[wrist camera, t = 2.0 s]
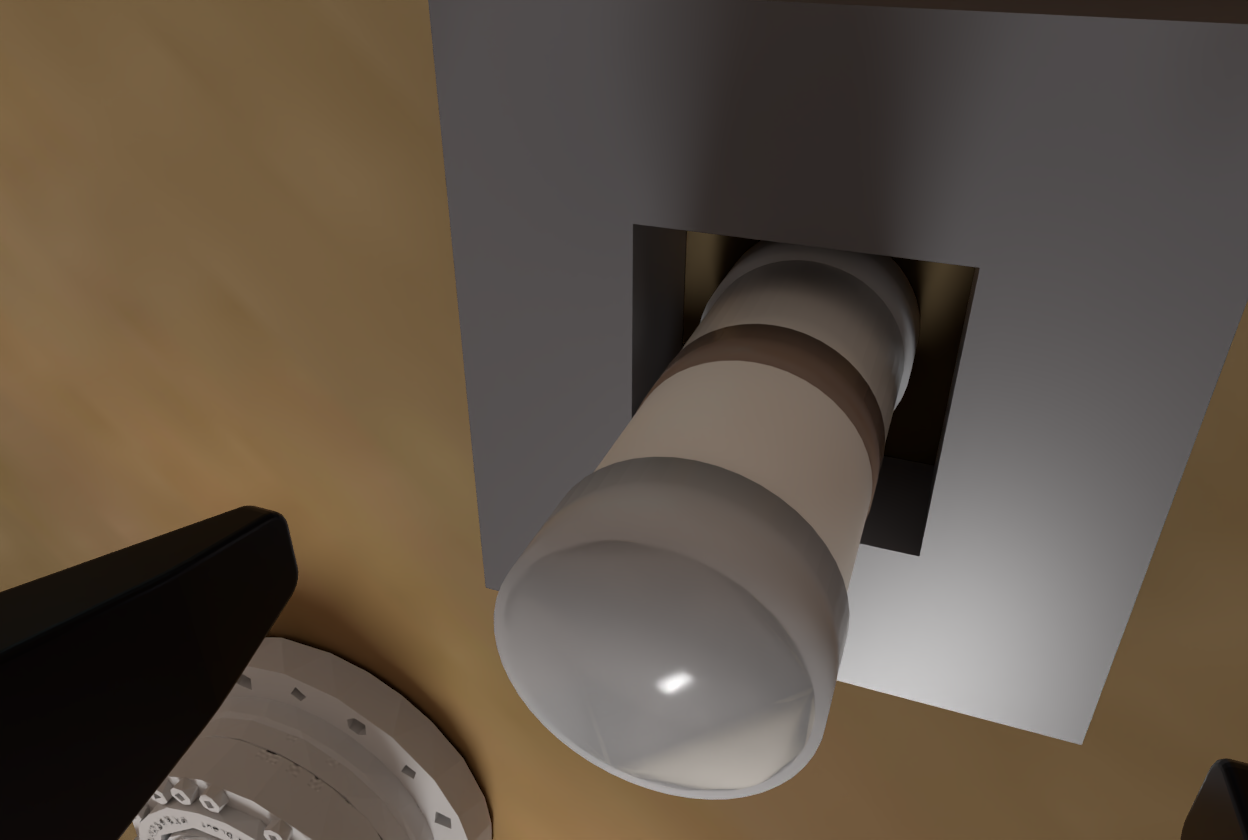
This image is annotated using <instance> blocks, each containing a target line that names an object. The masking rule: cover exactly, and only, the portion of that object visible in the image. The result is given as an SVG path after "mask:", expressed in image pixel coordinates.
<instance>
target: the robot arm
mask: <svg viewBox="0 0 1248 840" xmlns="http://www.w3.org/2000/svg"><path fill="white" fill-rule="evenodd" d="M297 580H298V567H297V563H296V558H295V554H294V550H293V545H292V541H291V537H290V532H289V528H288V524H287V521H286V519H285V518H284V517H283V516H282V514H280V513H278V512H275V511H272V510H268V509H264V508H260V507H256V506H243V507H239V508H237V509H234V510H231V511H228V512H225V513H223V514H220V515H217V516H214V517H211V518H208V519H206V520H203V521H200V522H197V523H194V524H192V525H189V526H186V527H183V528H180V529H177V530H175V531H172V532H169V533H166V534H163V535H160V536H158V537H155V538H152V539H149V540H146V541H144V542H141V543H138V544H135V545H132V546H129V547H127V548H124V549H121V550H118V551H115V552H112V553H110V554H107V555H104V556H101V557H98V558H96V559H93V560H90V561H87V562H84V563H81V564H79V565H76V566H73V567H70V568H67V569H64V570H62V571H59V572H56V573H53V574H50V575H48V576H45V577H42V578H39V579H36V580H33V581H31V582H28V583H25V584H22V585H19V586H16V587H14V588H11V589H8V590H5V591H2V592H0V840H118V839H119V838H120V837H121V836H122V834H123V833H124V832H125V830H126V829H127V828H128V827H129V825H130V824H131V823H132V821H133V820H134V819H135V817H136V816H137V815H138V814H139V812H140V811H141V810H142V808H143V807H144V806H145V805H146V803H147V802H148V801H149V799H150V798H151V797H152V796H153V794H154V793H155V792H156V790H157V789H158V788H159V787H160V785H161V784H162V783H163V781H164V780H165V779H166V778H167V776H168V775H169V774H170V772H171V771H172V770H173V769H174V767H175V766H176V765H177V763H178V762H179V761H180V759H181V758H182V757H183V756H184V754H185V753H186V752H187V750H188V749H189V748H190V747H191V745H192V744H193V743H194V741H195V740H196V739H197V738H198V736H199V735H200V734H201V732H202V731H203V730H204V729H205V727H206V726H207V725H208V723H209V722H210V721H211V719H212V718H213V716H214V715H215V714H216V712H217V711H218V710H219V708H220V707H221V705H222V704H223V702H224V701H225V699H226V698H227V696H228V695H229V693H230V692H231V690H232V689H233V687H234V686H235V684H236V683H237V681H238V679H239V678H240V676H241V675H242V673H243V672H244V670H245V668H246V667H247V665H248V664H249V662H250V661H251V659H252V657H253V656H254V654H255V653H256V651H257V649H258V648H259V646H260V645H261V643H262V642H263V640H264V638H265V637H266V635H267V634H268V632H269V631H270V629H271V627H272V626H273V624H274V623H275V621H276V620H277V618H278V616H279V615H280V613H281V612H282V610H283V608H284V607H285V605H286V604H287V602H288V601H289V599H290V597H291V596H292V594H293V592H294V590H295V587H296V585H297ZM1181 840H1248V764H1247V763H1243V762H1239V761H1236V760H1232V759H1220V760H1217V761H1216V762H1215V763H1214V764H1213V765H1212V767H1211V768H1210V770H1209V772H1208V774H1207V776H1206V778H1205V780H1204V782H1203V784H1202V786H1201V789H1200V791H1199V793H1198V795H1197V797H1196V799H1195V801H1194V803H1193V805H1192V807H1191V809H1190V811H1189V813H1188V816H1187V818H1186V820H1185V822H1184V826H1183V829H1182V834H1181Z"/></svg>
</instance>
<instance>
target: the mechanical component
mask: <svg viewBox="0 0 1248 840" xmlns="http://www.w3.org/2000/svg"><path fill="white" fill-rule="evenodd" d="M133 824H134V827H135V830H136V833H137V837H136V838H135V839H134V840H492V828H491V820H490V816H489V812H488V808H487V804H486V800H485V797H484V795H483V793H482V792H481V790H480V788H479V786H478V784H477V783H476V781H475V779H474V777H473V775H472V773H471V772H470V770H469V768H468V766H467V764H466V762H465V761H464V759H463V757H462V756H461V755H460V754H459V753H458V752H457V750H456V749H455V748H454V747H453V746H452V745H451V743H450V742H449V741H448V740H447V739H446V738H445V737H444V735H443V734H442V733H441V732H440V731H439V730H438V728H437V727H436V726H435V725H434V724H433V723H432V722H431V721H430V720H429V719H428V718H427V717H426V716H425V715H423V714H422V713H421V712H420V711H419V710H418V709H417V708H416V707H414V706H413V705H412V704H411V703H410V702H409V701H408V700H406V699H405V698H404V697H403V696H402V695H400V694H399V693H397V692H396V691H395V690H393V689H392V688H390V687H389V686H387V685H386V684H384V683H383V682H382V681H380V680H379V679H377V678H376V677H374V676H373V675H371V674H370V673H368V672H367V671H365V670H363V669H361V668H359V667H357V666H355V665H353V664H351V663H349V662H347V661H345V660H343V659H341V658H339V657H337V656H335V655H333V654H331V653H329V652H325V651H322V650H319V649H316V648H313V647H310V646H306V645H303V644H300V643H297V642H294V641H291V640H288V639H284V638H277V637H265V638H264V640H263V642H262V643H261V645H260V646H259V648H258V649H257V651H256V653H255V654H254V656H253V657H252V659H251V661H250V662H249V664H248V665H247V667H246V668H245V670H244V672H243V673H242V675H241V676H240V678H239V679H238V681H237V683H236V684H235V686H234V687H233V689H232V690H231V692H230V693H229V695H228V696H227V698H226V699H225V701H224V702H223V704H222V705H221V707H220V708H219V710H218V711H217V712H216V714H215V715H214V716H213V718H212V719H211V721H210V722H209V723H208V725H207V726H206V727H205V729H204V730H203V731H202V732H201V734H200V735H199V736H198V738H197V739H196V740H195V741H194V743H193V744H192V745H191V747H190V748H189V749H188V750H187V752H186V753H185V754H184V756H183V757H182V758H181V759H180V761H179V762H178V763H177V765H176V766H175V767H174V769H173V770H172V771H171V772H170V774H169V775H168V776H167V778H166V779H165V780H164V781H163V783H162V784H161V785H160V787H159V788H158V789H157V790H156V792H155V793H154V794H153V796H152V797H151V798H150V799H149V801H148V802H147V803H146V805H145V806H144V807H143V808H142V810H141V811H140V812H139V814H138V815H137V816H136V817H135V819H134V820H133Z"/></svg>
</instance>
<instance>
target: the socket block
mask: <svg viewBox="0 0 1248 840" xmlns="http://www.w3.org/2000/svg"><path fill="white" fill-rule="evenodd" d="M428 2H429V12H430V22H431V33H432V43H433V53H434V63H435V73H436V84H437V94H438V104H439V114H440V125H441V135H442V145H443V155H444V165H445V176H446V186H447V196H448V206H449V217H450V227H451V237H452V247H453V257H454V268H455V278H456V288H457V298H458V309H459V319H460V329H461V339H462V349H463V360H464V370H465V380H466V390H467V401H468V411H469V421H470V431H471V441H472V452H473V462H474V472H475V482H476V493H477V503H478V513H479V523H480V533H481V544H482V554H483V564H484V574H485V585H486V588H489V589H493V590H497V591H499V590H500V587H501V585H502V583H503V581H504V579H505V578H506V576H507V574H508V572H509V571H510V570H511V568H512V567H513V566H514V564H515V563H516V561H517V560H518V559H519V557H520V556H521V555H522V553H523V552H524V551H525V549H526V548H527V546H528V545H529V544H530V542H531V541H532V540H533V538H534V537H535V536H536V534H537V533H538V531H539V530H540V529H541V527H542V526H543V525H544V523H545V522H546V521H547V519H548V518H549V516H550V515H551V514H552V512H553V511H554V510H555V508H556V507H557V506H558V504H559V503H560V502H561V500H562V499H563V498H564V497H565V495H566V494H567V493H568V492H569V491H570V490H571V488H572V487H574V486H575V485H576V484H577V483H578V482H580V481H581V480H582V479H583V478H584V477H586V476H588V475H590V474H591V473H593V472H594V471H595V470H596V468H597V467H598V465H599V464H600V463H601V461H602V460H603V458H604V457H605V456H606V454H607V453H608V451H609V450H610V449H611V447H612V446H613V444H614V443H615V442H616V440H617V439H618V437H619V436H620V435H621V433H622V432H623V430H624V429H625V428H626V426H627V425H628V423H629V422H630V421H631V419H632V418H633V416H634V415H635V414H636V412H637V410H638V408H639V406H640V405H641V403H642V401H643V400H644V398H645V397H646V395H647V394H648V393H649V391H650V390H651V389H652V387H653V386H654V384H655V383H656V382H657V380H658V379H659V377H660V376H661V375H662V373H663V372H664V370H665V369H666V368H667V366H668V365H669V363H670V362H671V361H672V360H673V359H674V358H675V356H676V355H677V354H678V353H679V352H680V351H681V349H682V335H683V308H684V281H685V254H686V231H694V232H702V233H710V234H718V235H726V236H733V237H741V238H749V239H757V240H765V241H773V242H781V243H789V244H796V245H804V246H812V247H820V248H828V249H836V250H844V251H852V252H859V253H867V254H875V255H883V256H891V257H899V258H907V259H915V260H922V261H930V262H938V263H946V264H954V265H962V266H970V267H975V271H974V276H973V281H972V286H971V291H970V296H969V301H968V305H967V310H966V315H965V320H964V325H963V330H962V334H961V339H960V344H959V349H958V354H957V359H956V363H955V368H954V373H953V378H952V383H951V388H950V392H949V397H948V402H947V407H946V412H945V417H944V422H943V426H942V431H941V436H940V441H939V446H938V451H937V455H936V460H935V465H929V464H923V463H918V462H913V461H908V460H902V459H897V458H892V457H887V456H884V457H883V461H882V465H881V469H880V473H879V477H878V480H877V484H876V488H875V492H874V496H873V500H872V504H871V508H870V512H869V514H868V516H867V519H866V521H865V524H864V528H863V532H862V536H861V540H860V544H859V548H858V552H857V556H856V560H855V564H854V568H853V571H852V575H851V579H850V583H849V587H848V591H847V595H848V603H849V613H850V616H849V629H848V634H847V639H846V643H845V647H844V651H843V655H842V659H841V664H840V668H839V672H838V676H837V680H838V681H841V682H845V683H849V684H853V685H856V686H860V687H864V688H868V689H872V690H875V691H879V692H883V693H887V694H891V695H894V696H898V697H902V698H906V699H909V700H913V701H917V702H921V703H925V704H928V705H932V706H936V707H940V708H944V709H947V710H951V711H955V712H959V713H962V714H966V715H970V716H974V717H978V718H981V719H985V720H989V721H993V722H996V723H1000V724H1004V725H1008V726H1012V727H1015V728H1019V729H1023V730H1027V731H1031V732H1034V733H1038V734H1042V735H1046V736H1049V737H1053V738H1057V739H1061V740H1065V741H1068V742H1072V743H1076V744H1080V745H1082V743H1083V740H1084V737H1085V735H1086V732H1087V729H1088V727H1089V724H1090V721H1091V719H1092V716H1093V713H1094V710H1095V708H1096V705H1097V702H1098V700H1099V697H1100V694H1101V692H1102V689H1103V686H1104V684H1105V681H1106V678H1107V676H1108V673H1109V670H1110V668H1111V665H1112V662H1113V660H1114V657H1115V654H1116V651H1117V649H1118V646H1119V643H1120V641H1121V638H1122V635H1123V633H1124V630H1125V627H1126V625H1127V622H1128V619H1129V617H1130V614H1131V611H1132V609H1133V606H1134V603H1135V601H1136V598H1137V595H1138V592H1139V590H1140V587H1141V584H1142V582H1143V579H1144V576H1145V574H1146V571H1147V568H1148V566H1149V563H1150V560H1151V558H1152V555H1153V552H1154V550H1155V547H1156V544H1157V542H1158V539H1159V536H1160V533H1161V531H1162V528H1163V525H1164V523H1165V520H1166V517H1167V515H1168V512H1169V509H1170V507H1171V504H1172V501H1173V499H1174V496H1175V493H1176V491H1177V488H1178V485H1179V483H1180V480H1181V477H1182V474H1183V472H1184V469H1185V466H1186V464H1187V461H1188V458H1189V456H1190V453H1191V450H1192V448H1193V445H1194V442H1195V440H1196V437H1197V434H1198V432H1199V429H1200V426H1201V423H1202V421H1203V418H1204V415H1205V413H1206V410H1207V407H1208V405H1209V402H1210V399H1211V397H1212V394H1213V391H1214V389H1215V386H1216V383H1217V381H1218V378H1219V375H1220V373H1221V370H1222V367H1223V364H1224V362H1225V359H1226V356H1227V354H1228V351H1229V348H1230V346H1231V343H1232V340H1233V338H1234V335H1235V332H1236V330H1237V327H1238V324H1239V322H1240V319H1241V316H1242V314H1243V311H1244V308H1245V305H1246V303H1247V300H1248V0H428Z"/></svg>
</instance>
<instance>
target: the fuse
mask: <svg viewBox="0 0 1248 840" xmlns="http://www.w3.org/2000/svg"><path fill="white" fill-rule="evenodd" d="M919 332H920V315H919V309H918V304H917V300H916V297H915V294H914V291H913V289H912V287H911V285H910V283H909V281H908V279H907V277H906V276H905V274H904V273H903V271H902V270H901V269H900V267H899V266H898V265H897V264H896V263H895V262H894V261H893V259H892V258H891V257H890V256H883V255H875V254H867V253H859V252H852V251H844V250H836V249H828V248H820V247H812V246H804V245H796V244H789V243H781V242H773V241H765V240H761V241H760V242H758V243H757V244H755V245H754V246H752V247H751V248H750V249H749V250H748V251H746V252H745V253H744V254H743V255H742V256H741V257H740V259H739V260H738V261H737V262H736V263H735V265H734V266H733V267H732V269H731V270H730V271H729V273H728V274H727V275H726V277H725V278H724V280H723V281H722V282H721V284H720V285H719V286H718V288H717V289H716V290H715V292H714V293H713V295H712V296H711V298H710V300H709V301H708V303H707V305H706V307H705V310H704V312H703V314H702V318H701V322H700V324H699V326H698V327H697V328H696V330H695V331H694V333H693V334H692V335H691V337H690V338H689V340H688V341H687V342H686V344H685V345H684V347H683V348H682V349H681V351H680V352H679V353H678V354H677V355H676V356H675V358H674V359H673V360H672V361H671V362H670V363H669V365H668V366H667V368H666V369H665V370H664V372H663V373H662V375H661V376H660V377H659V379H658V380H657V382H656V383H655V384H654V386H653V387H652V389H651V390H650V391H649V393H648V394H647V395H646V397H645V398H644V400H643V401H642V403H641V405H640V406H639V408H638V410H637V412H636V414H635V415H634V416H633V418H632V419H631V421H630V422H629V423H628V425H627V426H626V428H625V429H624V430H623V432H622V433H621V435H620V436H619V437H618V439H617V440H616V442H615V443H614V444H613V446H612V447H611V449H610V450H609V451H608V453H607V454H606V456H605V457H604V458H603V460H602V461H601V463H600V464H599V465H598V467H597V468H596V470H595V471H594V472H593V473H591V474H590V475H588V476H586V477H584V478H583V479H582V480H581V481H580V482H578V483H577V484H576V485H575V486H574V487H572V488H571V490H570V491H569V492H568V493H567V494H566V495H565V497H564V498H563V499H562V500H561V502H560V503H559V504H558V506H557V507H556V508H555V510H554V511H553V512H552V514H551V515H550V516H549V518H548V519H547V521H546V522H545V523H544V525H543V526H542V527H541V529H540V530H539V531H538V533H537V534H536V536H535V537H534V538H533V540H532V541H531V542H530V544H529V545H528V546H527V548H526V549H525V551H524V552H523V553H522V555H521V556H520V557H519V559H518V560H517V561H516V563H515V564H514V566H513V567H512V568H511V570H510V571H509V572H508V574H507V576H506V578H505V579H504V581H503V583H502V585H501V587H500V590H499V593H498V596H497V599H496V604H495V611H494V632H495V638H496V644H497V649H498V652H499V655H500V658H501V661H502V664H503V666H504V668H505V671H506V673H507V675H508V677H509V679H510V681H511V683H512V684H513V686H514V688H515V689H516V691H517V693H518V694H519V696H520V697H521V698H522V700H523V701H524V702H525V704H526V705H527V707H528V708H529V709H530V711H531V712H532V713H533V714H534V715H535V716H536V717H537V718H538V719H539V720H540V722H541V723H542V724H543V725H544V726H545V727H546V728H547V729H548V730H549V731H551V732H552V733H553V734H554V735H555V736H556V737H557V738H558V739H559V740H561V741H562V742H563V743H564V744H566V745H567V746H568V747H569V748H571V749H572V750H573V751H575V752H576V753H578V754H579V755H581V756H582V757H584V758H585V759H587V760H588V761H590V762H591V763H593V764H595V765H596V766H598V767H600V768H602V769H604V770H605V771H607V772H609V773H611V774H613V775H615V776H618V777H620V778H622V779H624V780H626V781H628V782H631V783H634V784H637V785H639V786H642V787H645V788H648V789H651V790H655V791H658V792H662V793H666V794H670V795H676V796H681V797H687V798H697V799H732V798H740V797H747V796H750V795H754V794H758V793H762V792H765V791H767V790H770V789H772V788H774V787H777V786H779V785H781V784H782V783H784V782H786V781H787V780H789V779H791V778H792V777H793V776H795V775H796V774H797V773H798V772H799V771H800V770H801V769H803V768H804V767H805V766H806V764H807V763H808V762H809V760H810V759H811V758H812V757H813V755H814V754H815V752H816V750H817V748H818V746H819V744H820V742H821V740H822V737H823V733H824V729H825V726H826V722H827V717H828V713H829V709H830V705H831V701H832V697H833V693H834V688H835V684H836V680H837V676H838V672H839V668H840V664H841V659H842V655H843V651H844V647H845V643H846V639H847V634H848V629H849V616H850V613H849V603H848V595H847V591H848V587H849V583H850V579H851V575H852V571H853V568H854V564H855V560H856V556H857V552H858V548H859V544H860V540H861V536H862V532H863V528H864V524H865V521H866V519H867V516H868V514H869V512H870V508H871V504H872V500H873V496H874V492H875V488H876V484H877V480H878V477H879V473H880V469H881V465H882V461H883V457H884V450H885V442H886V438H887V434H888V430H889V427H890V423H891V419H892V415H893V411H894V410H895V409H896V407H897V405H898V404H899V402H900V400H901V399H902V397H903V395H904V392H905V390H906V388H907V385H908V381H909V377H910V373H911V369H912V365H913V361H914V357H915V353H916V348H917V344H918V340H919Z"/></svg>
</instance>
